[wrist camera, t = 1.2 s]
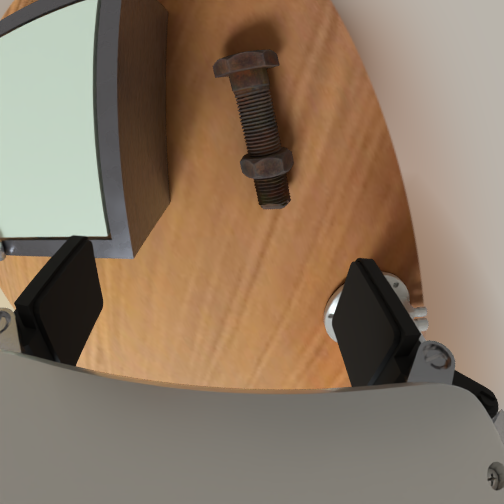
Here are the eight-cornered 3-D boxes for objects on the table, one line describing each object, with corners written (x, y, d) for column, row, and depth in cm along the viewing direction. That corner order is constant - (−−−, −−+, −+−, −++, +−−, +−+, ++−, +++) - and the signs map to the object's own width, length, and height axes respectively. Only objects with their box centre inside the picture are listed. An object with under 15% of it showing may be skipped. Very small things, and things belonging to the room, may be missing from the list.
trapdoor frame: (168, 11, 21) (119, -37, 9) (170, 203, 31) (128, 267, 19) (41, 44, 21) (-38, 39, 9) (52, 207, 31) (-13, 261, 19)
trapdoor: (129, 15, 17) (98, -4, 11) (134, 207, 25) (107, 236, 20) (-29, 76, 16) (-65, 82, 11) (-14, 216, 24) (-45, 238, 19)
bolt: (265, 193, 33) (236, 61, 25) (308, 194, 30) (282, 51, 23) (239, 217, 29) (202, 63, 21) (287, 219, 26) (253, 47, 19)
